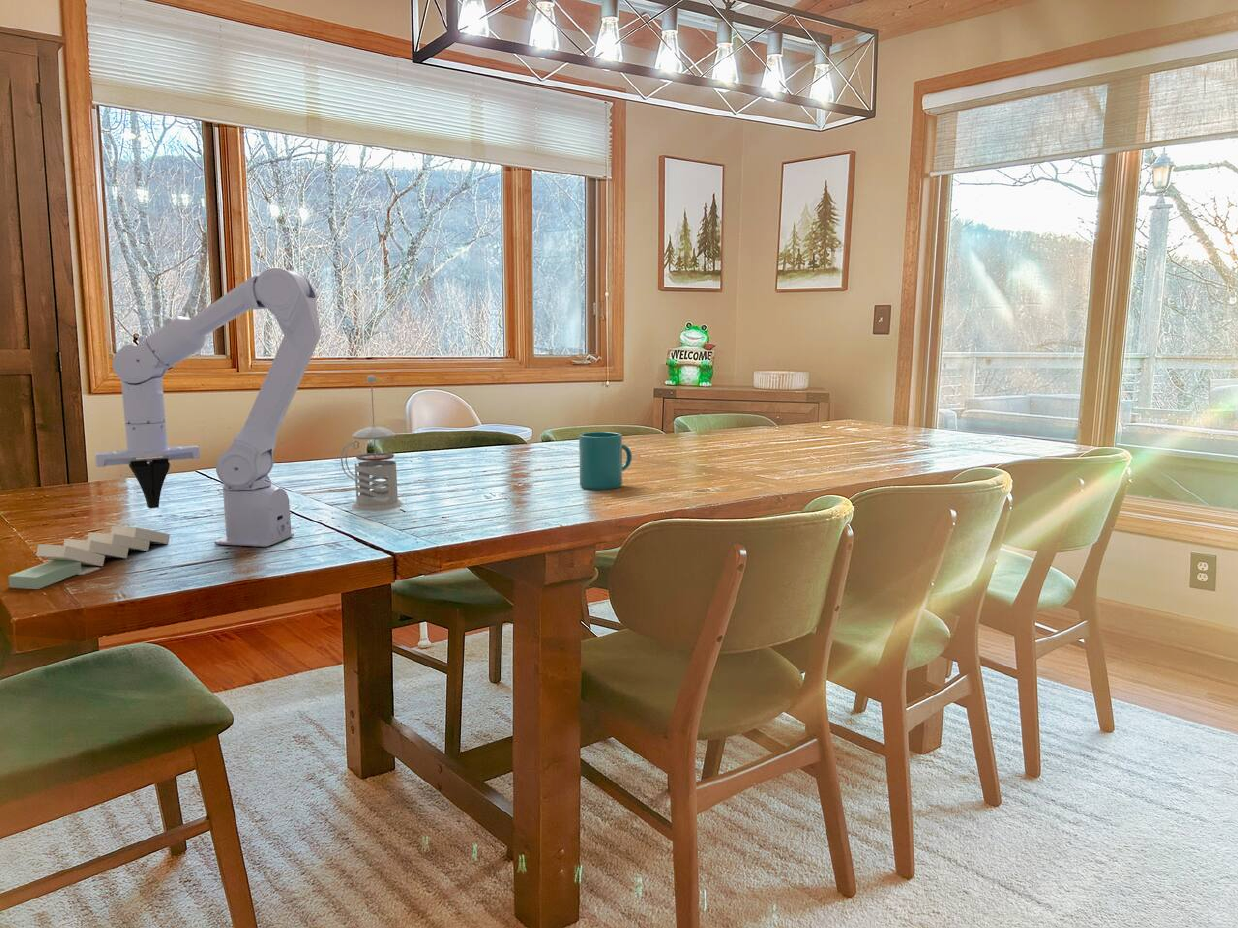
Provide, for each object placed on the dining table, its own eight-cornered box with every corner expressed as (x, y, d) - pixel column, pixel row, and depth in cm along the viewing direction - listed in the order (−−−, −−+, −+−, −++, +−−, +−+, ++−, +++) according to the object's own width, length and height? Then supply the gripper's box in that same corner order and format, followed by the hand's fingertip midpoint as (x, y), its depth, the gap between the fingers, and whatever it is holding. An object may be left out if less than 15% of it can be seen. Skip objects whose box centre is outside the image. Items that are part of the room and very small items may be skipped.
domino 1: (53, 559, 126) (8, 575, 119) (80, 561, 125) (36, 577, 118) (55, 570, 126) (9, 587, 119) (81, 572, 125) (37, 589, 118)
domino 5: (146, 532, 144) (111, 526, 136) (170, 534, 143) (136, 527, 135) (144, 542, 143) (109, 536, 136) (168, 544, 142) (134, 537, 135)
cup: (641, 486, 190) (641, 434, 188) (592, 492, 184) (591, 438, 182) (620, 480, 198) (620, 430, 196) (572, 485, 192) (571, 433, 190)
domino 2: (79, 554, 130) (38, 544, 123) (105, 555, 130) (66, 545, 123) (76, 564, 130) (35, 555, 123) (102, 566, 129) (63, 557, 122)
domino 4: (125, 539, 139) (88, 532, 132) (149, 540, 138) (114, 533, 131) (123, 549, 139) (86, 543, 132) (148, 551, 138) (112, 544, 131)
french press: (389, 511, 166) (383, 377, 162) (332, 509, 168) (325, 376, 164) (412, 501, 176) (406, 374, 172) (357, 499, 178) (351, 373, 174)
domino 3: (103, 546, 135) (64, 538, 128) (128, 547, 134) (90, 540, 127) (101, 556, 135) (62, 549, 128) (126, 558, 134) (88, 551, 127)
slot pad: (99, 568, 128) (99, 567, 128) (81, 575, 125) (81, 573, 125) (66, 566, 129) (66, 565, 129) (48, 572, 126) (48, 571, 126)
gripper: (95, 428, 132) (104, 517, 134) (200, 421, 141) (207, 505, 143) (90, 423, 138) (98, 509, 140) (191, 417, 146) (198, 498, 148)
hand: (153, 507), depth 142 cm, fingers closed
